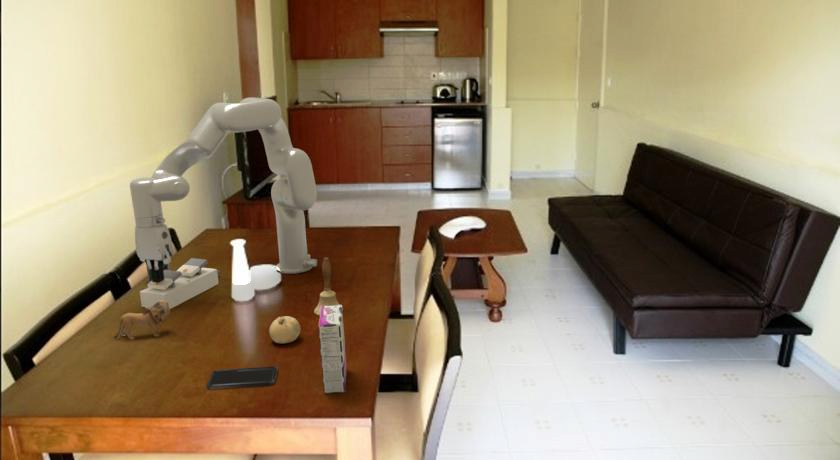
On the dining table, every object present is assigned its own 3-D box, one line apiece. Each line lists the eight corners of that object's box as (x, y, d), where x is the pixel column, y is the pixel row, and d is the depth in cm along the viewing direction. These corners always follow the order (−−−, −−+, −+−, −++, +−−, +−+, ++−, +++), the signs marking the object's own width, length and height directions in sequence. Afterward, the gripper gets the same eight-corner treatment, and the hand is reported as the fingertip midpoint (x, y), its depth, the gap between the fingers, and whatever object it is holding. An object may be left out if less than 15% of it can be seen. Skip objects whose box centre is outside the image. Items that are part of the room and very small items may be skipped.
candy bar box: (325, 370, 153) (320, 305, 148) (347, 369, 153) (343, 303, 149) (322, 394, 142) (317, 325, 138) (345, 393, 142) (341, 323, 138)
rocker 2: (208, 264, 209) (206, 259, 208) (192, 278, 202) (190, 272, 201) (193, 262, 211) (191, 257, 210) (177, 276, 204) (175, 270, 204)
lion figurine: (172, 327, 179) (168, 296, 177) (173, 334, 175) (168, 303, 172) (113, 336, 174) (108, 305, 172) (113, 344, 169) (107, 312, 167)
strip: (230, 277, 217) (228, 261, 216) (166, 311, 190) (163, 292, 189) (208, 275, 221) (206, 258, 219) (142, 307, 194) (139, 289, 192)
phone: (273, 382, 146) (205, 386, 145) (274, 387, 147) (206, 391, 146) (278, 366, 154) (213, 369, 153) (278, 370, 154) (213, 374, 153)
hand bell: (326, 303, 193) (322, 252, 189) (348, 308, 189) (345, 256, 185) (308, 313, 186) (304, 260, 182) (331, 318, 182) (327, 264, 178)
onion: (267, 337, 172) (265, 312, 170) (297, 332, 174) (295, 307, 172) (273, 349, 164) (270, 323, 162) (304, 343, 167) (302, 318, 165)
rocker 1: (182, 276, 198) (180, 271, 197) (165, 291, 192) (163, 286, 191) (166, 274, 200) (164, 269, 199) (149, 289, 194) (147, 283, 193)
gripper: (179, 219, 188) (187, 279, 193) (139, 216, 194) (148, 274, 199) (160, 226, 182) (169, 288, 187) (119, 222, 187) (129, 282, 192)
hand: (158, 280), depth 193 cm, fingers closed
